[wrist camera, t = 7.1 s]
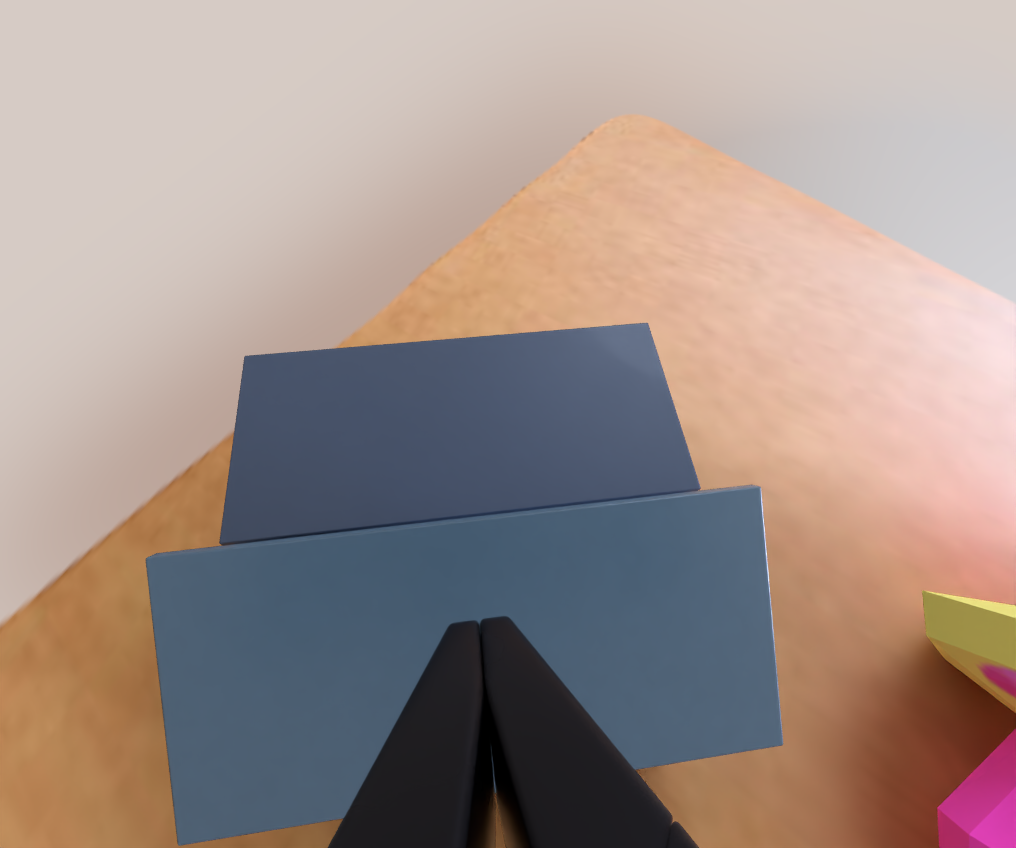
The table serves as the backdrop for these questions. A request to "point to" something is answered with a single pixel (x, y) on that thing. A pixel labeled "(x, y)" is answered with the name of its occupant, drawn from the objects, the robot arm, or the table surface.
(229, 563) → the flap
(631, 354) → the carton
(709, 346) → the table surface
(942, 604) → the toy
